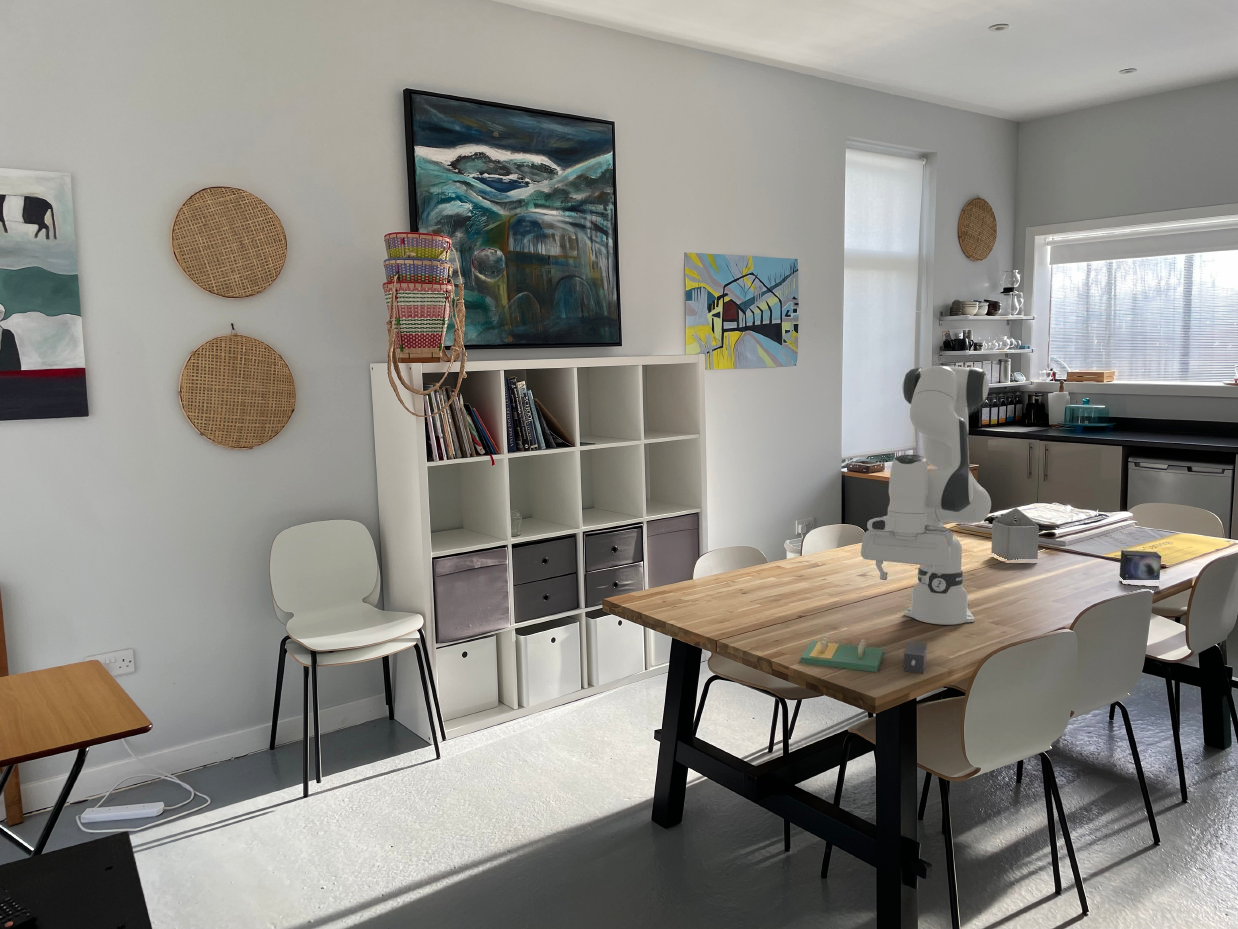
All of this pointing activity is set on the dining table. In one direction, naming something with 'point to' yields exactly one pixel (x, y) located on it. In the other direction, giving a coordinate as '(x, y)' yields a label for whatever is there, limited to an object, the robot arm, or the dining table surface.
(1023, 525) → the planter
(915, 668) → the block
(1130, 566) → the small box
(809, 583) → the dining table surface
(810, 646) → the board
